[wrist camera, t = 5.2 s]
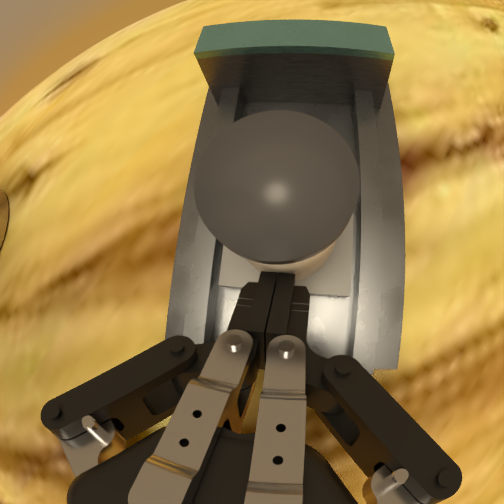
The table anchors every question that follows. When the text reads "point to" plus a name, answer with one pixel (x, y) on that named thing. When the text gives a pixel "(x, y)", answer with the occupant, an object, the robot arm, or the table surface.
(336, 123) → the knob mount
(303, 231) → the knob carriage
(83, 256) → the table surface
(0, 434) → the table surface
